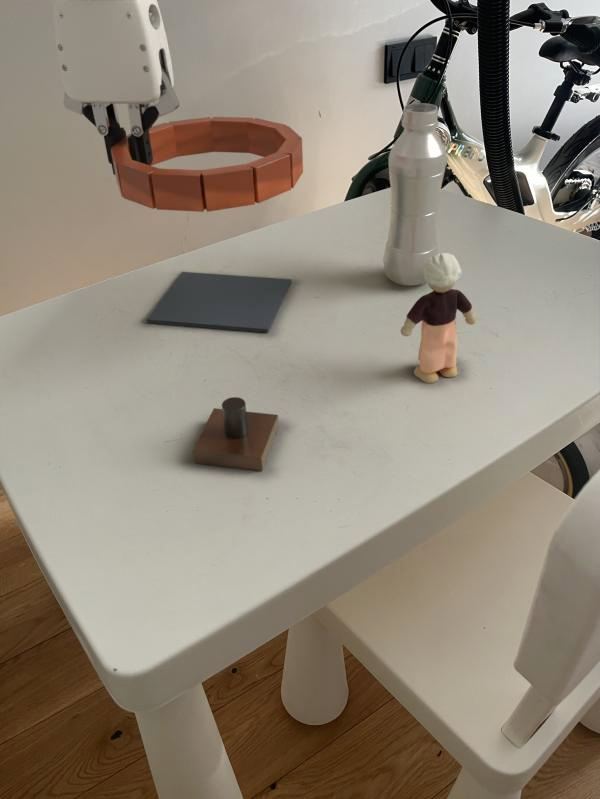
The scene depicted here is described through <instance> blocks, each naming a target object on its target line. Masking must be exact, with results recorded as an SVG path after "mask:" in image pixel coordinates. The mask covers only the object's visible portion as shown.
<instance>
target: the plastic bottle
mask: <svg viewBox="0 0 600 799" xmlns="http://www.w3.org/2000/svg"><path fill="white" fill-rule="evenodd" d="M438 107H439V106H438V105H435V104H431V103H424V102H422V103H421V102H420V103H419V102H418V103H417V102H416V103H410V104H407V105H404V106H403V112H402V120H401V126H402V128H403V131H402V132H401V134H400V135H399V136H398V138H397V139H396V141H395V142H394V144H393V146H392V147H391V149H390V151H389V154H388V174H389V184H390V205H391V206H390V220H389V228H388V234H387V241H386V244H385V247H384V252H383V258H382V261H383V262H382V263H383V270H384V273H385V275H386V276H387V278H388V279H389V280H390V281H391V282H392V283H395V284H397V285H401V286H418V285H423V284H425V283H427V282H426V280H425V276H424V273H423V271H424V268H425V264H426V262H427V260H428V259H429V258H430V257H432V256H434V255H436V254H437V253H439V248H438V242H437V221H438V220H437V218H438V217H437V216H438V215H437V214H438V208H439V207H438V206H439V204H440V203H439V202H440V194H441V189H442V185H443V180H444V176H445V172H446V168H447V163H448V162H447V161H448V156H447V150H446V147H445V145H444V144H443V141H442V139H441V138H440V136H439V134H438V133H437V132H436V128H437V127H438V125H439V120H438V114H439V113H438V112H439V109H438Z"/></svg>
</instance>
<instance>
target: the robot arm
mask: <svg viewBox="0 0 600 799" xmlns="http://www.w3.org/2000/svg"><path fill="white" fill-rule="evenodd" d="M52 17H53V18H52V19H53V31H54V38H55V47H56V54H57V55H56V56H57V61H58V67H59V72H60V76H61V81H62V84H63V88H64V97H63V105H64V107H65V109H67V110H68V111H71V112H74V113H76V114H79V115H83V116H84V118H86V119H87V120H88V121H89V122H90V124H92V125H93V126H94V127H95V128H96V130H97V133H98V134H99V135H100V136H103V140H104V145H105V150H106V156H107V160H108V161H107V162H108V163H109V164H110V165H111V169H112V174H113V175H114V176H115V170H114V165H113V160H112V154H111V148H112V147H113V146H114V145H115V144H117V143H118V142H119V141H121V140H122V139H123V138H125V137H126V136H127V132H126V129H125V128H124V127H121V124H120V120H119V115H118V111H117V110H118V109H117V104H118V105H127V110H128V117H129V125H130V134H132V135H131V136H130V137H128V145H129V147H130V153H131V158H132V160H134V161H137V162H140V163H144V164H147V165H150V166H151V164H152V162H153V155H152V149H151V142H150V136H149V129H150V128H151V127H153V126H154V124H155V123H156V121H157V120H158V119H159V118H160V117H161V118H162V117H163V116H166V115H168V114H171V113H173V112H175V111H176V110H177V109H179V107H180V100H179V99H178V96H177V94H176V92H175V90H174V87H175V77H174V70H173V63H172V56H171V52H170V47H169V43H168V38H167V33H166V28H165V25H164V21H163V18H162V13H161V9H160V6H159V2H158V0H52ZM152 103H153V104H152Z"/></svg>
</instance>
